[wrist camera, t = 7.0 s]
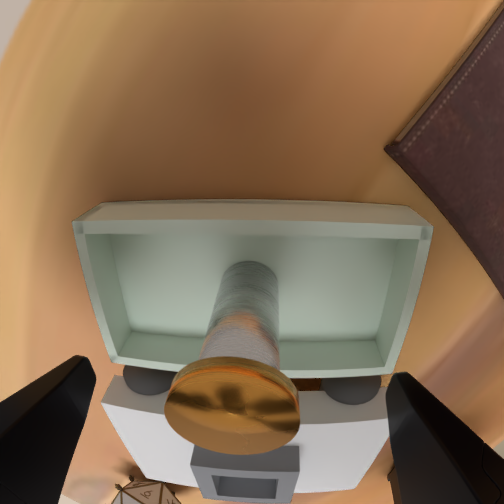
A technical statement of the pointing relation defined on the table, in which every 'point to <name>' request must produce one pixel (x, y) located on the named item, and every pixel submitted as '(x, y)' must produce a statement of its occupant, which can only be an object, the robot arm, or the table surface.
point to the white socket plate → (263, 464)
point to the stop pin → (238, 372)
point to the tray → (266, 252)
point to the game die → (145, 493)
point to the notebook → (465, 148)
